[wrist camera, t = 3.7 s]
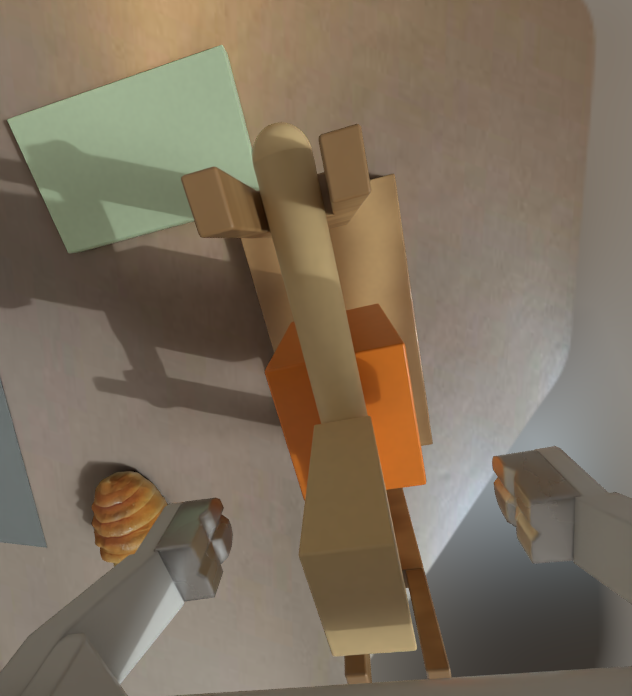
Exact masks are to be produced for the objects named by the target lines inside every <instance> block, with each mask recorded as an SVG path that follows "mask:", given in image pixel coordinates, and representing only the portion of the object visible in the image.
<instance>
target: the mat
mask: <svg viewBox="0 0 632 696" xmlns="http://www.w3.org/2000/svg"><path fill="white" fill-rule="evenodd" d="M7 121H8V123H9V125H10V128H11V130H12V132H13V134H14V136H15V138H16V141H17V143H18V145H19V147H20V149H21V152H22V154H23V156H24V158H25V160H26V162H27V165H28V167H29V169H30V171H31V173H32V175H33V178H34V180H35V182H36V184H37V186H38V189H39V191H40V193H41V195H42V197H43V199H44V202H45V204H46V206H47V208H48V210H49V212H50V215H51V217H52V219H53V221H54V223H55V225H56V228H57V230H58V232H59V234H60V236H61V239H62V241H63V243H64V245H65V247H66V249H67V252H68V253H78V252H82V251H86V250H89V249H93V248H97V247H100V246H104V245H108V244H111V243H115V242H119V241H122V240H126V239H130V238H133V237H137V236H141V235H144V234H148V233H152V232H155V231H159V230H163V229H167V228H170V227H174V226H178V225H181V224H185V223H189V222H192V221H194V218H193V215H192V212H191V209H190V206H189V203H188V200H187V197H186V194H185V191H184V188H183V185H182V182H181V177H182V176H183V175H186V174H189V173H193V172H196V171H199V170H203V169H206V168H210V167H213V166H214V167H217V168H219V169H221V170H223V171H224V172H226V173H228V174H229V175H231V176H233V177H234V178H236V179H238V180H239V181H241V182H243V183H244V184H246V185H248V186H249V187H251V188H253V189H255V190H256V191H259V186H258V182H257V178H256V175H255V171H254V167H253V162H252V147H251V143H250V139H249V135H248V131H247V128H246V124H245V120H244V116H243V112H242V108H241V105H240V101H239V97H238V93H237V89H236V85H235V82H234V78H233V74H232V70H231V66H230V62H229V59H228V55H227V52H226V50H225V49H224V47H223V45H220V46H217V47H214V48H211V49H208V50H206V51H203V52H200V53H197V54H194V55H191V56H188V57H185V58H183V59H180V60H177V61H174V62H171V63H168V64H165V65H162V66H159V67H157V68H154V69H151V70H148V71H145V72H142V73H139V74H136V75H134V76H131V77H128V78H125V79H122V80H119V81H116V82H113V83H110V84H108V85H105V86H102V87H99V88H96V89H93V90H90V91H87V92H85V93H82V94H79V95H76V96H73V97H70V98H67V99H64V100H62V101H59V102H56V103H53V104H50V105H47V106H44V107H41V108H38V109H36V110H33V111H30V112H27V113H24V114H21V115H18V116H15V117H13V118H10V119H7Z"/></svg>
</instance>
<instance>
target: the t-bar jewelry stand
mask: <svg viewBox="0 0 632 696" xmlns="http://www.w3.org/2000/svg"><path fill="white" fill-rule="evenodd" d="M252 162H253V167H254V171H255V175H256V178H257V182H258V186H259V190H260V194H261V197H262V201H263V205H264V209H265V213H266V216H267V220H268V224H269V228H270V232H271V235H272V239H273V243H274V247H275V250H276V254H277V258H278V262H279V266H280V269H281V273H282V277H283V281H284V285H285V288H286V292H287V296H288V300H289V304H290V307H291V311H292V315H293V319H294V322H291V323H290V325H289V327H288V329H287V331H286V332H285V334H284V336H283V338H282V340H281V342H280V344H279V345H278V347H277V349H276V351H275V353H274V355H273V356H272V358H271V360H270V362H269V364H268V366H267V367H266V369H265V375H266V378H267V382H268V385H269V388H270V391H271V395H272V398H273V401H274V404H275V408H276V411H277V414H278V417H279V420H280V424H281V427H282V430H283V433H284V437H285V440H286V443H287V446H288V450H289V453H290V456H291V459H292V462H293V466H294V469H295V472H296V475H297V479H298V482H299V485H300V488H301V492H302V495H303V498H304V500H305V506H304V514H303V523H302V531H301V539H300V548H299V558H300V561H301V564H302V567H303V570H304V573H305V576H306V579H307V582H308V585H309V588H310V590H311V593H312V596H313V599H314V602H315V605H316V608H317V611H318V614H319V617H320V620H321V623H322V626H323V629H324V632H325V635H326V638H327V641H328V643H329V646H330V649H331V652H332V655H333V656H347V655H360V654H374V653H388V652H402V651H415V650H416V648H417V645H416V640H415V635H414V630H413V625H412V620H411V615H410V610H409V604H408V599H407V594H406V589H405V584H404V579H403V574H402V569H401V564H400V559H399V553H398V548H397V543H396V538H395V533H394V528H393V523H392V518H391V513H390V508H389V502H388V497H387V492H386V490H388V489H395V488H403V487H410V486H417V485H424V484H426V475H425V469H424V463H423V456H422V450H421V443H420V437H419V431H418V424H417V418H416V411H415V405H414V399H413V392H412V386H411V379H410V373H409V366H408V360H407V354H406V347H405V344H404V342H403V341H402V339H401V337H400V336H399V334H398V333H397V331H396V330H395V328H394V327H393V325H392V323H391V322H390V320H389V319H388V317H387V316H386V314H385V313H384V311H383V310H382V308H381V306H380V305H379V304H373V305H368V306H364V307H359V308H354V309H350V310H346V309H345V304H344V300H343V295H342V290H341V285H340V281H339V276H338V271H337V266H336V262H335V257H334V252H333V247H332V242H331V238H330V233H329V228H328V223H327V219H326V214H325V209H324V204H323V200H322V195H321V190H320V185H319V181H318V176H317V171H316V166H315V161H314V157H313V152H312V148H311V145H310V143H309V141H308V139H307V137H306V136H305V135H304V134H303V132H302V131H301V130H299V129H298V128H297V127H295V126H293V125H291V124H288V123H283V122H279V123H274V124H271V125H269V126H267V127H265V128H264V129H263V130H262V131H261V132H260V133H259V135H258V136H257V138H256V140H255V142H254V145H253V150H252Z"/></svg>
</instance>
